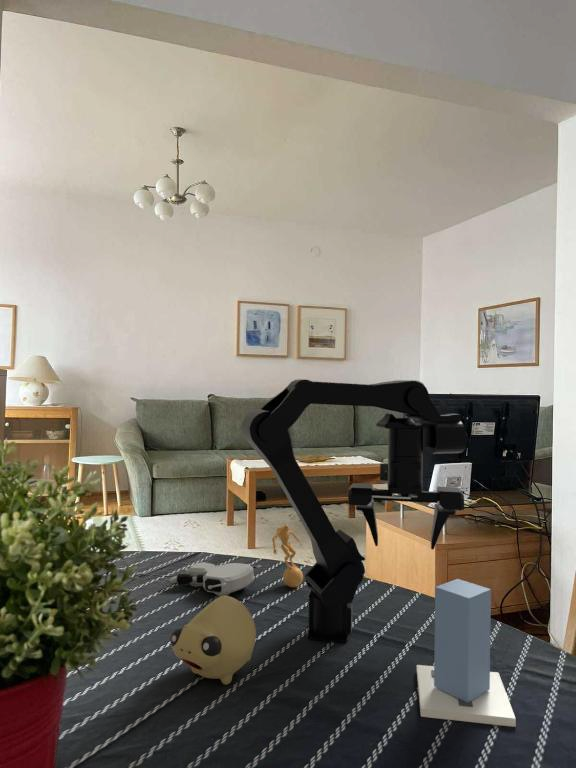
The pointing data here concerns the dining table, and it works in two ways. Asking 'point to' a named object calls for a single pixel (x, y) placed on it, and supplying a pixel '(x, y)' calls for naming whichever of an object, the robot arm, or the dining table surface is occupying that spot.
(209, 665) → the beige rounded figure
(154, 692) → the dining table surface
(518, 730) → the dining table surface
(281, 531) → the figurine
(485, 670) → the slate post
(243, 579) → the robot toy
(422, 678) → the letter card
